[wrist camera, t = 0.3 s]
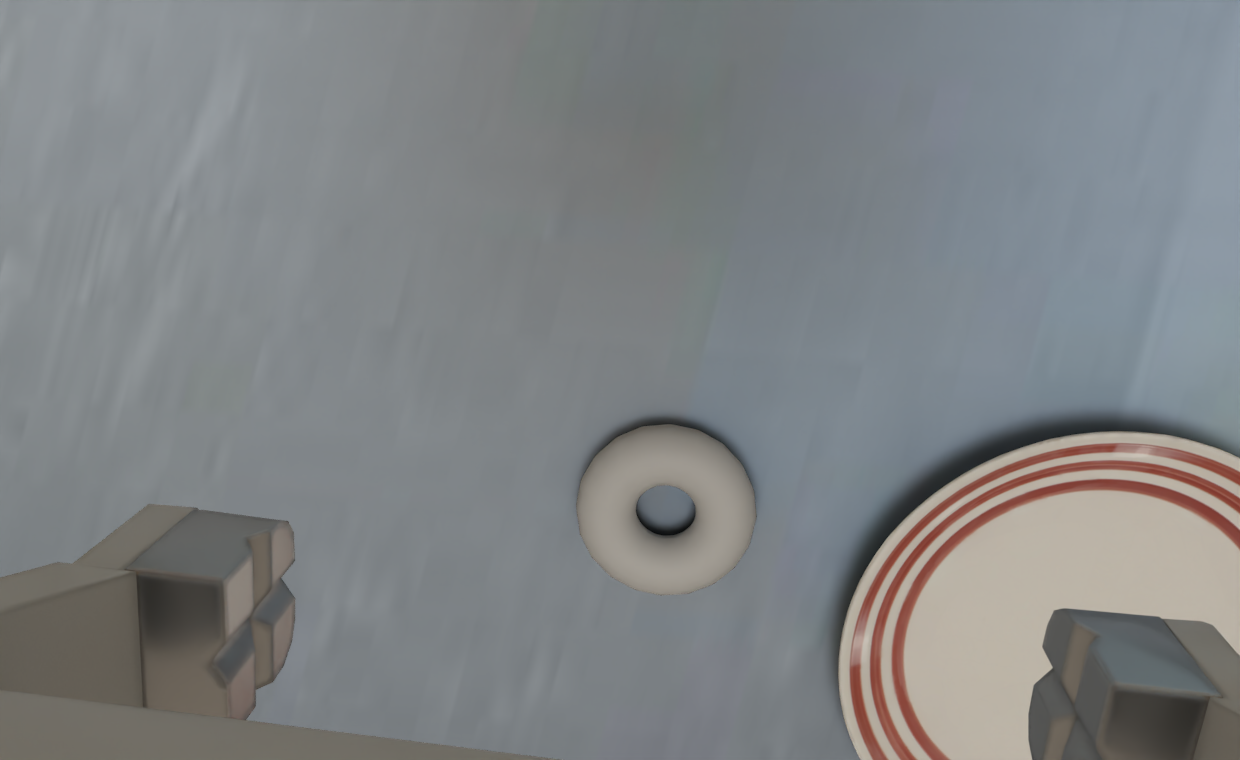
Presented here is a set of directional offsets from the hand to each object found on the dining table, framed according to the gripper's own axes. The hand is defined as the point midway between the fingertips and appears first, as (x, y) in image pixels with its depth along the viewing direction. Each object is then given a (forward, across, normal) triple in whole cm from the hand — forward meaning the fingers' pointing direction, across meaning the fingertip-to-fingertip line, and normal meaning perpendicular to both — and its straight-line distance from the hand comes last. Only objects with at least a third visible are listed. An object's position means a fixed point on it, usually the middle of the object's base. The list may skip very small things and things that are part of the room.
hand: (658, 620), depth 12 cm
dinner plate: (+48, -24, +25) cm, 59 cm away
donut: (+48, 0, +19) cm, 51 cm away
